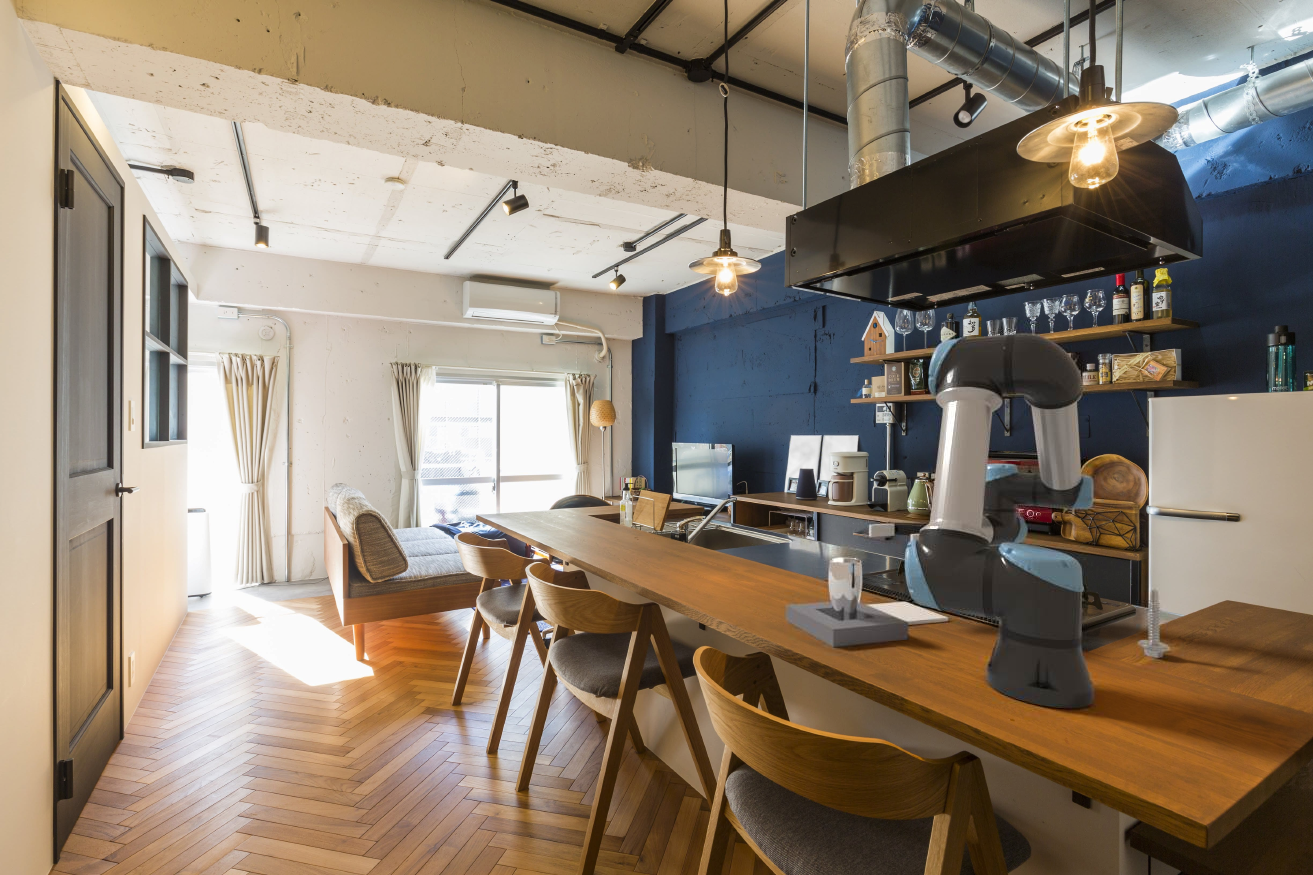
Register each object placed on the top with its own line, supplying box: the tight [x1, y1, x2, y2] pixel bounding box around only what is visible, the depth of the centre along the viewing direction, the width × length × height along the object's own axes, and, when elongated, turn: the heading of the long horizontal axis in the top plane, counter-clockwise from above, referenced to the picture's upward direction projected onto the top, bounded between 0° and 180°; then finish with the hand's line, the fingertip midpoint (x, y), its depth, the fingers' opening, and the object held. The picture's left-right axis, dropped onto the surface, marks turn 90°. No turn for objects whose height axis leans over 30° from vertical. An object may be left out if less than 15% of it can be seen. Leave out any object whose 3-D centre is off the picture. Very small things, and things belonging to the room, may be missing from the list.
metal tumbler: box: [827, 556, 863, 621], centre depth 132 cm, size 7×7×15 cm
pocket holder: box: [785, 601, 909, 648], centre depth 132 cm, size 18×18×4 cm
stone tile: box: [867, 601, 949, 626], centre depth 144 cm, size 14×14×1 cm
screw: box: [1137, 588, 1171, 659], centre depth 119 cm, size 13×5×5 cm
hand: (889, 535), depth 136 cm, fingers open, 13 cm apart
